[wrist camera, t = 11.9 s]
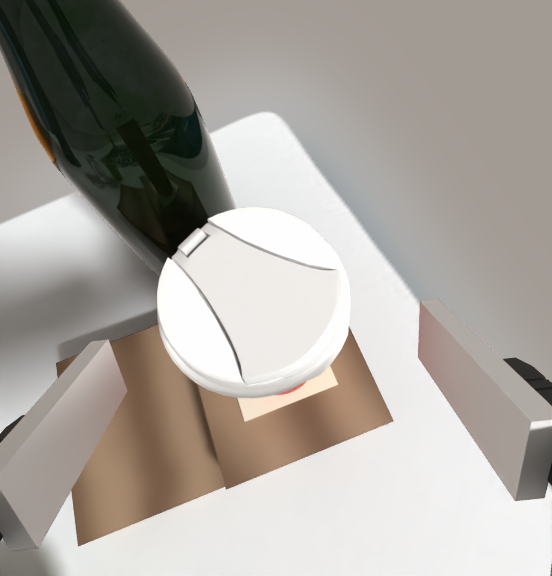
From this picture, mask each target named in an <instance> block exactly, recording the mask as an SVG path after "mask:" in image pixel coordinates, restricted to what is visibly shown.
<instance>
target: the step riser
mask: <svg viewBox="0 0 552 576" xmlns="http://www.w3.org/2000/svg"><path fill="white" fill-rule="evenodd" d="M110 345H111V348H112V350H113V353H114V356H115V358H116V361H117V364H118V366H119V369H120V372H121V374H122V377H123V380H124V383H125V385H126V388H127V393H126V395H125V396H124V398H123V400H122V402H121V403H120V405H119V407H118V409H117V410H116V412H115V414H114V416H113V418H112V419H111V421H110V423H109V425H108V426H107V428H106V430H105V432H104V433H103V435H102V437H101V439H100V440H99V442H98V444H97V446H96V447H95V449H94V451H93V453H92V454H91V456H90V458H89V460H88V461H87V463H86V465H85V467H84V469H83V470H82V472H81V474H80V476H79V477H78V479H77V481H76V483H75V484H74V486H73V488H72V490H71V491H72V500H73V508H74V516H75V524H76V533H77V541H78V546H81V545H83V544H86V543H88V542H90V541H93V540H95V539H98V538H100V537H103V536H105V535H108V534H110V533H112V532H115V531H117V530H120V529H122V528H125V527H127V526H130V525H132V524H135V523H137V522H139V521H142V520H144V519H147V518H149V517H152V516H154V515H157V514H159V513H162V512H164V511H166V510H169V509H171V508H174V507H176V506H179V505H181V504H184V503H186V502H188V501H191V500H193V499H196V498H198V497H201V496H203V495H206V494H208V493H211V492H213V491H215V490H218V489H220V488H223V487H226V489H229V488H231V487H234V486H236V485H238V484H241V483H243V482H246V481H248V480H251V479H253V478H256V477H258V476H261V475H263V474H265V473H268V472H270V471H273V470H275V469H278V468H280V467H283V466H285V465H287V464H290V463H292V462H295V461H297V460H300V459H302V458H305V457H307V456H309V455H312V454H314V453H317V452H319V451H322V450H324V449H327V448H329V447H331V446H334V445H336V444H339V443H341V442H344V441H346V440H349V439H351V438H354V437H356V436H358V435H361V434H363V433H366V432H368V431H371V430H373V429H376V428H378V427H380V426H383V425H385V424H388V423H390V422H393V419H392V417H391V414H390V412H389V410H388V408H387V406H386V404H385V402H384V400H383V397H382V395H381V393H380V391H379V389H378V387H377V385H376V383H375V380H374V378H373V376H372V374H371V372H370V370H369V368H368V366H367V363H366V361H365V359H364V357H363V355H362V353H361V351H360V349H359V347H358V344H357V342H356V340H355V338H354V336H353V334H352V332H351V330H350V327H348V336H347V338H346V340H345V342H344V345H343V347H342V349H341V351H340V352H339V353H338V355H337V356H336V358H335V359H334V361H333V362H332V364H331V365H330V366H329V367H328V368H327V369H326V370H325V371H324V372H323V373H322V374H321V375H319V376H317V377H315V378H313V379H311V380H308V381H307V382H306V383H305V384H304V385H303V386H302V387H300V388H299V389H297V390H295V391H293V392H291V393H288V394H283V395H273V396H268V397H261V398H236V397H230V396H225V395H221V394H219V393H216V392H213V391H210V390H208V389H206V388H204V387H202V386H201V385H199V384H197V383H195V382H194V381H193V380H191V379H190V378H189V377H188V376H187V375H185V374H184V373H183V372H182V371H181V370H180V369H179V367H178V366H177V365H176V364H175V363H174V362H173V360H172V359H171V357H170V355H169V353H168V352H167V350H166V348H165V346H164V343H163V341H162V338H161V335H160V331H159V326H158V325H155V326H153V327H150V328H147V329H145V330H142V331H140V332H137V333H134V334H132V335H129V336H126V337H124V338H121V339H118V340H116V341H113V342H110ZM77 356H78V355H76V356H73V357H71V358H68V359H65V360H63V361H60V362H58V363H56V367H57V376H58V378H59V377H60V375H61V374H62V373H63V372H64V371H65V370H66V369H67V368H68V366H69V365H70V364H71V363H72V362H73V361H74V360H75V359H76V357H77Z"/></svg>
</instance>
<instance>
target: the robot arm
mask: <svg viewBox="0 0 552 576" xmlns="http://www.w3.org/2000/svg"><path fill="white" fill-rule="evenodd" d="M418 358H419V359H420V361H421V362H422V364H423V365H424V367H425V368H426V370H427V371H428V373H429V374H430V376H431V377H432V379H433V380H434V382H435V383H436V385H437V386H438V387H439V389H440V390H441V392H442V393H443V395H444V396H445V398H446V399H447V401H448V402H449V404H450V405H451V407H452V408H453V410H454V411H455V413H456V414H457V416H458V417H459V419H460V420H461V422H462V423H463V425H464V426H465V427H466V429H467V430H468V432H469V433H470V435H471V436H472V438H473V439H474V441H475V442H476V444H477V445H478V447H479V448H480V450H481V451H482V453H483V454H484V456H485V457H486V459H487V460H488V462H489V463H490V465H491V466H492V468H493V469H494V470H495V472H496V473H497V475H498V476H499V478H500V479H501V481H502V482H503V484H504V485H505V487H506V488H507V490H508V491H509V493H510V494H511V496H512V497H513V499H514V500H515V501H520V500H530V499H540V498H545V494H546V490H547V486H548V482H549V483H550V484H551V485H552V383H551V382H550V381H549V380H546V379H545V377H544V376H543V375H542V374H541V373H540V372H539V371H537V370H536V369H535V368H534V367H532V366H531V365H529V364H527V363H525V362H523V361H521V360H519V359H517V358H509V359H502V358H501V357H500V356H499V355H497V354H496V353H495V352H494V351H493V350H492V349H491V348H490V347H489V346H488V345H487V344H486V343H485V342H484V341H483V340H482V339H481V338H480V337H479V336H478V335H477V334H475V333H474V332H473V331H472V330H471V329H470V328H469V327H468V326H467V325H466V324H465V323H464V322H463V321H462V320H461V319H460V318H458V316H456V315H455V314H454V313H453V312H452V311H451V310H450V309H449V308H448V307H447V306H446V305H445V304H444V303H443V302H442V301H441V300H440V299H432V300H424V301H420V314H419V343H418ZM126 393H127V388H126V385H125V383H124V380H123V377H122V374H121V372H120V369H119V366H118V364H117V361H116V358H115V356H114V353H113V350H112V348H111V345H110V342H109V340H108V339H106V340H98V341H91V342H90V343H89V344H88V345H87V346H86V347H85V348H84V350H83V351H82V352H81V353H80V354H79V355H78V356H77V357H76V359H75V360H74V361H73V362H72V363H71V364H70V365H69V366H68V368H67V369H66V370H65V371H64V372H63V373H62V374H61V375H60V377H59V378H58V379H57V380H56V381H55V382H54V383H53V384H52V386H51V387H50V388H49V389H48V390H47V391H46V392H45V393H44V395H43V396H42V397H41V398H40V399H39V400H38V401H37V402H36V404H35V405H34V406H33V407H32V408H31V409H30V410H29V411H28V413H27V414H26V415H22V416H21V417H19V418H18V419H17V420H15V421H14V422H13V423H11V424H10V425H9V426H7V427H6V428H5V429H4V430H3V431H2V432H1V433H0V541H1V539H2V538H3V539H4V541H5V542H6V543H7V545H8V546H9V548H10V549H11V551H17V550H27V549H37V548H39V546H40V544H41V542H42V541H43V539H44V537H45V535H46V534H47V532H48V530H49V528H50V527H51V525H52V523H53V521H54V520H55V518H56V516H57V514H58V512H59V511H60V509H61V507H62V505H63V504H64V502H65V500H66V498H67V497H68V495H69V493H70V491H71V490H72V488H73V486H74V484H75V483H76V481H77V479H78V477H79V476H80V474H81V472H82V470H83V469H84V467H85V465H86V463H87V461H88V460H89V458H90V456H91V454H92V453H93V451H94V449H95V447H96V446H97V444H98V442H99V440H100V439H101V437H102V435H103V433H104V432H105V430H106V428H107V426H108V425H109V423H110V421H111V419H112V418H113V416H114V414H115V412H116V410H117V409H118V407H119V405H120V403H121V402H122V400H123V398H124V396H125V395H126ZM550 576H552V566H551V575H550Z"/></svg>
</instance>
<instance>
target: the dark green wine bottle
mask: <svg viewBox="0 0 552 576" xmlns="http://www.w3.org/2000/svg"><path fill="white" fill-rule="evenodd" d="M0 52H1V54H2V56H3V59H4V61H5V63H6V66H7V68H8V70H9V73H10V75H11V78H12V80H13V83H14V85H15V88H16V90H17V93H18V95H19V98H20V101H21V103H22V105H23V108H24V110H25V112H26V115H27V117H28V119H29V122H30V124H31V126H32V128H33V131H34V132H35V134H36V136H37V138H38V140H39V141H40V143H41V144H42V146H43V148H44V149H45V151H46V153H47V154H48V156H49V157H50V159H51V160H52V162H53V164H54V165H55V166H56V167H57V168H58V170H59V171H60V172H61V173H62V174H63V175H64V177H65V178H66V179H67V180H68V181H69V183H70V184H71V185H72V186H73V187H74V188H75V190H76V191H77V192H78V193H79V194H80V195H81V196H82V197H83V199H84V200H85V201H86V202H87V203H88V204H89V205H90V206H91V207H92V208H93V209H94V210H95V211H96V212H97V213H98V214H99V216H100V217H101V218H102V219H103V220H104V221H105V222H106V223H107V224H108V225H109V226H110V227H111V228H112V229H113V230H114V231H115V232H116V234H117V235H118V236H119V237H120V238H121V239H122V240H123V241H124V242H125V243H126V244H127V245H128V246H129V247H130V248H131V249H132V250H133V251H134V252H135V254H136V255H137V256H138V257H139V258H140V259H141V260H142V261H143V262H144V263H145V264H146V265H147V266H148V267H149V268H150V269H151V270H152V271H153V272H155V273H156V274H157V275H158V276H159V277H160V275H161V272H162V269H163V267H164V265H165V263H166V261H167V258H169V259H171V260H172V256H173V255H174V254H175V253H176V252H177V251H178V246H179V245H180V244H181V243H182V242H183V241H184V240H185V239H186V238H188V237H189V236H190V235H191V234H192V233H193V232H194V231H195V230H196V229H197V228H199V229H201V228H202V227H203V226H204V225H205V224H206V223H208V220H207V219H208V218H211V217H213V216H215V215H217V214H220V213H223V212H226V211H229V210H234V209H237V208H236V205H235V202H234V200H233V197H232V194H231V191H230V189H229V186H228V183H227V180H226V178H225V175H224V172H223V170H222V167H221V164H220V161H219V159H218V156H217V153H216V151H215V148H214V145H213V143H212V140H211V137H210V135H209V132H208V130H207V128H206V125H205V123H204V121H203V118H202V116H201V114H200V112H199V109H198V107H197V104H196V102H195V100H194V97H193V95H192V93H191V91H190V89H189V87H188V86H187V84H186V83H185V81H184V79H183V78H182V76H181V74H180V73H179V71H178V69H177V68H176V66H175V65H174V64H173V62H172V61H171V60H170V59H169V58H168V56H167V55H166V54H165V53H164V51H163V50H162V49H161V48H160V47H159V46H158V44H157V43H156V42H155V41H154V39H153V38H152V37H151V36H150V35H149V34H148V32H146V30H145V29H144V28H143V27H142V26H141V25H140V23H139V22H138V21H137V20H136V19H135V18H134V16H133V15H132V14H131V13H130V12H129V10H128V9H127V8H126V7H125V6H124V4H123V3H122V2H121V1H120V0H0ZM208 224H209V223H208Z"/></svg>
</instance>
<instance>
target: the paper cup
mask: <svg viewBox="0 0 552 576" xmlns="http://www.w3.org/2000/svg"><path fill="white" fill-rule="evenodd" d="M207 220H208V223H209V224H208V223H206V224H205V225H204V226H203V227H202V228H201V229H199V228H197V229H196V230H195V231H194V232H193V233H192V234H191V235H190V236H189V237H188V238H186V239H185V240H184V241H183V242H182V243H181V244H180V245H179V246H178V251H177V252H176V253H175V254H174V255H173V256H172V260H171V259H169V258H167V261H166V263H165V265H164V267H163V269H162V272H161V275H160V279H159V282H158V289H157V320H158V326H159V331H160V335H161V338H162V341H163V343H164V346H165V348H166V350H167V352H168V353H169V355H170V357H171V359H172V360H173V362H174V363H175V364H176V365H177V366H178V367H179V369H180V370H181V371H182V372H183V373H184V374H185V375H187V376H188V377H189V378H190V379H191V380H193V381H194V382H195V383H197V384H199V385H201V386H202V387H204V388H206V389H208V390H210V391H213V392H216V393H219V394H221V395H225V396H230V397H236V398H261V397H268V396H273V395H283V394H288V393H291V392H293V391H295V390H297V389H299V388H300V387H302V386H303V385H304V384H305V383H306V382H307V381H308V380H311V379H313V378H315V377H317V376H319V375H321V374H322V373H323V372H324V371H325V370H326V369H327V368H328V367H329V366H330V365H331V364H332V362H333V361H334V359H335V358H336V356H337V355H338V353H339V352H340V351H341V349H342V347H343V345H344V342H345V340H346V338H347V336H348V327H349V313H350V304H351V301H350V287H349V283H348V279H347V275H346V272H345V270H344V267H343V265H342V263H341V261H340V259H339V257H338V256H337V254H336V253H335V251H334V250H333V248H332V247H331V246H330V245H329V244H328V243H327V242H326V241H325V239H323V238H322V237H321V236H320V235H319V233H318V232H317V231H316V230H314V229H313V228H312V227H311V226H309V225H308V224H307V223H305V222H304V221H302V220H300V219H299V218H297V217H295V216H293V215H290V214H288V213H285V212H282V211H278V210H274V209H270V208H260V207H249V208H239V209H234V210H229V211H226V212H223V213H220V214H217V215H215V216H213V217H211V218H208V219H207Z"/></svg>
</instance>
